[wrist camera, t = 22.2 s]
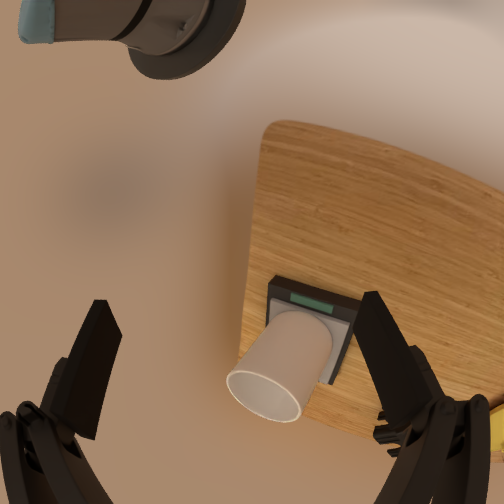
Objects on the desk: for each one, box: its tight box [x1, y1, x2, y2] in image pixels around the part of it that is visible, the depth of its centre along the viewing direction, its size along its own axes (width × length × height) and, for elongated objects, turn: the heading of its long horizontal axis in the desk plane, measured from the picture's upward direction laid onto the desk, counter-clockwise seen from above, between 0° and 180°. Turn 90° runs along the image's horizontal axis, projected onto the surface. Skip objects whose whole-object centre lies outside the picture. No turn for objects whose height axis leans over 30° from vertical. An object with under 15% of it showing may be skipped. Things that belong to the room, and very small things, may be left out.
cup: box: [226, 311, 333, 422], centre depth 28 cm, size 8×12×10 cm
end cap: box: [373, 407, 411, 457], centre depth 28 cm, size 10×7×7 cm
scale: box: [265, 275, 361, 385], centre depth 33 cm, size 14×11×3 cm
